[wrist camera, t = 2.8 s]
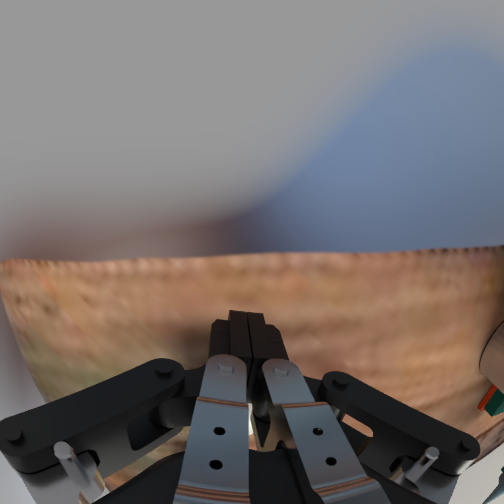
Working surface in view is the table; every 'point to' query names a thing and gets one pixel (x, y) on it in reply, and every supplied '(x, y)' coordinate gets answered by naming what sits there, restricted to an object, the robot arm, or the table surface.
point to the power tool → (493, 405)
